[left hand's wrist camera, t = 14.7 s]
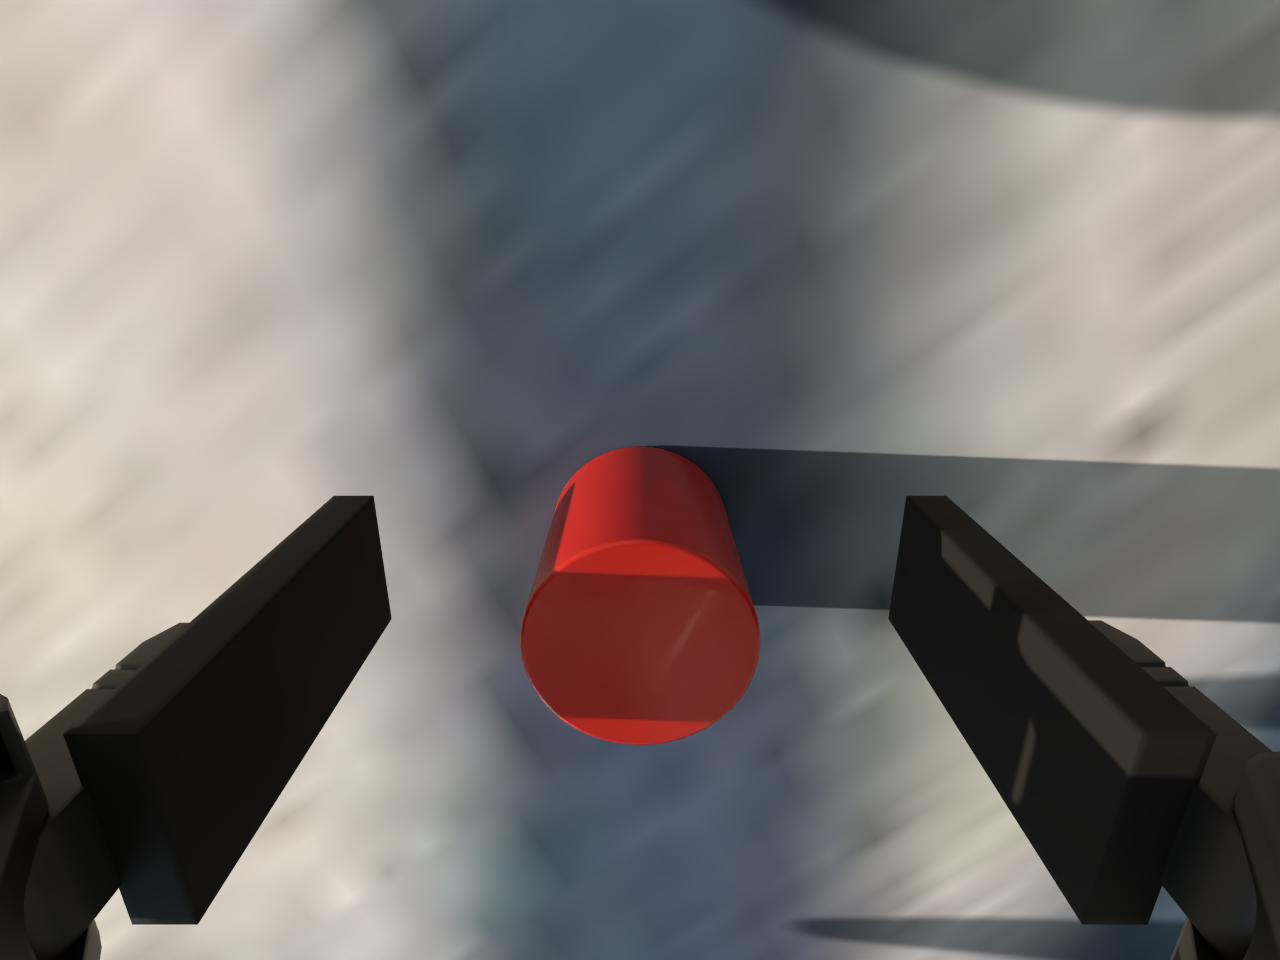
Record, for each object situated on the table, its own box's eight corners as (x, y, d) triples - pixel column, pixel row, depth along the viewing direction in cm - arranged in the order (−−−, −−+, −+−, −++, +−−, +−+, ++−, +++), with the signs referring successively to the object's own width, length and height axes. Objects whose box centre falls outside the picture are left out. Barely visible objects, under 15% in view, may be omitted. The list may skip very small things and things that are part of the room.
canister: (569, 611, 16) (542, 758, 12) (539, 456, 15) (496, 555, 10) (732, 592, 16) (768, 734, 12) (718, 434, 15) (752, 526, 10)
